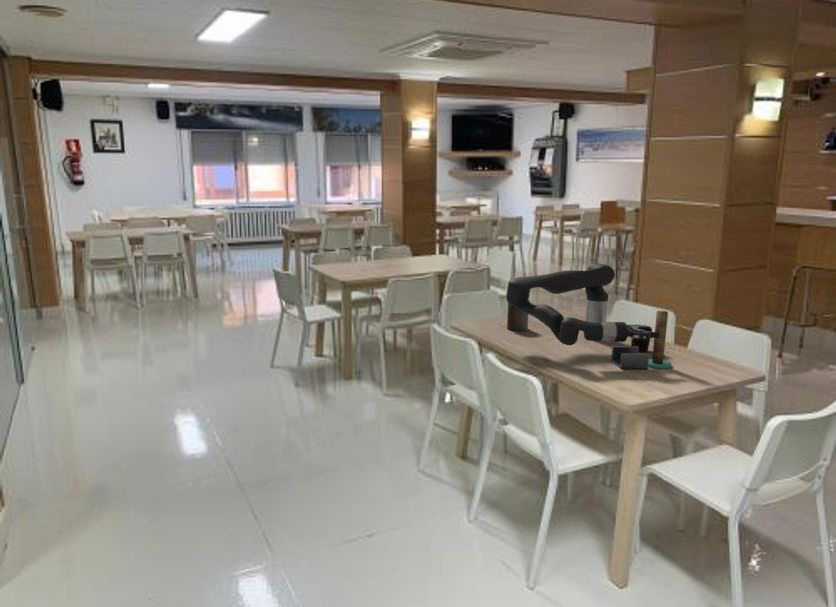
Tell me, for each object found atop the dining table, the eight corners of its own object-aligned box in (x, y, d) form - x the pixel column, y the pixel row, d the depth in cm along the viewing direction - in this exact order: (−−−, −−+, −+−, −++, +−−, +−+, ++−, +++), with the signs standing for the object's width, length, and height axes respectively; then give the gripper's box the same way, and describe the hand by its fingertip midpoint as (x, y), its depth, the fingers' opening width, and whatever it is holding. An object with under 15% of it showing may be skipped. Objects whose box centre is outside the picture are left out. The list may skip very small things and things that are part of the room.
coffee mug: (631, 346, 271) (633, 323, 269) (652, 349, 267) (654, 326, 265) (624, 352, 261) (626, 329, 260) (646, 356, 257) (648, 331, 255)
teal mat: (639, 361, 249) (639, 358, 249) (665, 361, 250) (665, 359, 249) (649, 368, 240) (649, 366, 239) (675, 369, 240) (675, 366, 240)
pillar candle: (508, 331, 295) (509, 299, 292) (505, 326, 304) (507, 295, 301) (529, 331, 295) (530, 299, 292) (526, 326, 304) (528, 295, 301)
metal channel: (610, 360, 250) (612, 345, 249) (636, 361, 250) (637, 346, 249) (621, 369, 238) (622, 354, 237) (647, 370, 239) (649, 354, 237)
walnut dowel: (650, 361, 246) (655, 310, 242) (660, 361, 246) (665, 310, 242) (654, 364, 242) (659, 312, 238) (664, 364, 242) (669, 312, 238)
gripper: (619, 326, 234) (663, 327, 234) (607, 317, 248) (648, 318, 248) (617, 346, 235) (661, 346, 236) (605, 336, 249) (646, 337, 250)
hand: (654, 332), depth 242 cm, fingers open, 8 cm apart
